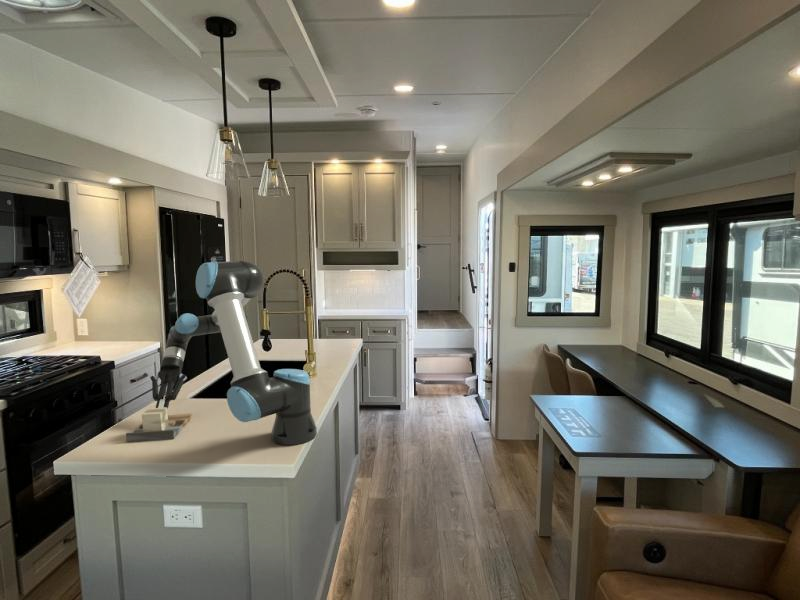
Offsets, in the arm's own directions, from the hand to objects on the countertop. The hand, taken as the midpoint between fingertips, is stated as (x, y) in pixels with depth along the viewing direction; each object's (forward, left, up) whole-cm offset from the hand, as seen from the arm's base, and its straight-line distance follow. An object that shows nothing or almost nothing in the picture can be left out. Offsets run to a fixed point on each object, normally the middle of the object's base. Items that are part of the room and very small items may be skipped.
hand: (159, 417), depth 161 cm
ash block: (-4, +1, -3) cm, 5 cm away
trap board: (0, 0, -5) cm, 5 cm away
